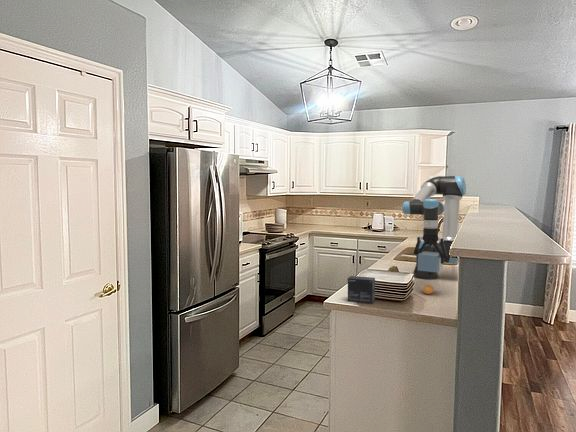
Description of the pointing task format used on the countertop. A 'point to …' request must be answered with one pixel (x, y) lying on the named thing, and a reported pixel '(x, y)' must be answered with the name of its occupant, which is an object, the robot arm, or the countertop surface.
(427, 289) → the ball
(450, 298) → the countertop surface
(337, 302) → the countertop surface
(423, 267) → the grey-blue square block
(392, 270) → the rock
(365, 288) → the small box
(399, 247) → the countertop surface
